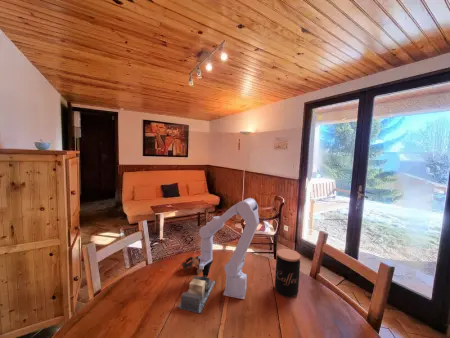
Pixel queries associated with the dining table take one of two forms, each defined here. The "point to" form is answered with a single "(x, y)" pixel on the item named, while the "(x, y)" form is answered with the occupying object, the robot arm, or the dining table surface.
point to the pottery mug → (191, 263)
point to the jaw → (204, 278)
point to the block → (197, 287)
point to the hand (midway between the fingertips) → (205, 275)
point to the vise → (195, 300)
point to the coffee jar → (287, 272)
